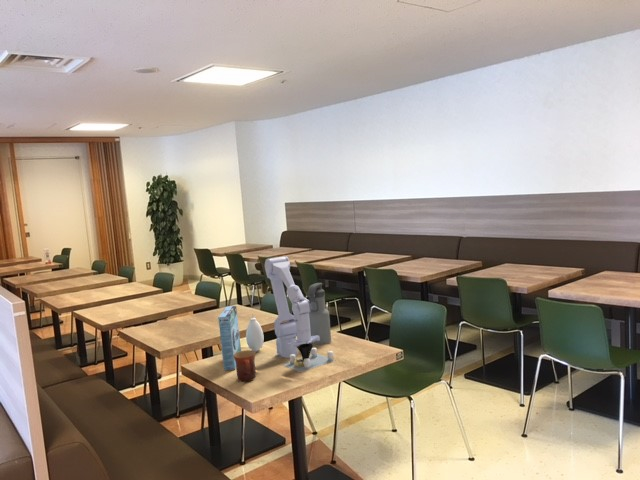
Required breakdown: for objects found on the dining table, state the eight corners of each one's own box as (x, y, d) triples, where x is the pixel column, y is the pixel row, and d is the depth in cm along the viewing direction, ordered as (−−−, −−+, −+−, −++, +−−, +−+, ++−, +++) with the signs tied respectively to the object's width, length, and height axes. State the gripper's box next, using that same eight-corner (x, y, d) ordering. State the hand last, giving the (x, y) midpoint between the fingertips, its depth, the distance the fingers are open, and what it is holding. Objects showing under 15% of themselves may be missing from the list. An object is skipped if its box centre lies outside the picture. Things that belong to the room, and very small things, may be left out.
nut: (292, 365, 212) (292, 361, 212) (299, 363, 215) (299, 358, 215) (300, 368, 209) (299, 363, 209) (307, 365, 212) (306, 360, 212)
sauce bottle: (244, 351, 239) (240, 313, 237) (258, 347, 244) (255, 309, 242) (253, 354, 233) (250, 315, 231) (267, 350, 238) (264, 312, 236)
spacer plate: (282, 366, 215) (281, 356, 214) (317, 355, 225) (316, 345, 225) (300, 374, 204) (299, 363, 204) (336, 362, 215) (335, 352, 215)
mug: (234, 377, 207) (231, 352, 206) (256, 373, 209) (253, 349, 208) (238, 387, 195) (235, 361, 194) (261, 383, 198) (258, 357, 196)
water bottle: (323, 347, 236) (318, 287, 233) (306, 344, 242) (301, 286, 239) (335, 340, 245) (330, 282, 242) (318, 338, 250) (313, 281, 247)
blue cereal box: (235, 370, 215) (229, 316, 213) (222, 370, 215) (217, 317, 213) (241, 354, 235) (237, 305, 232) (230, 355, 235) (225, 306, 232)
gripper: (294, 335, 205) (296, 368, 206) (323, 327, 213) (325, 358, 215) (284, 332, 210) (287, 364, 212) (313, 324, 219) (315, 355, 220)
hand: (305, 361), depth 214 cm, fingers closed
